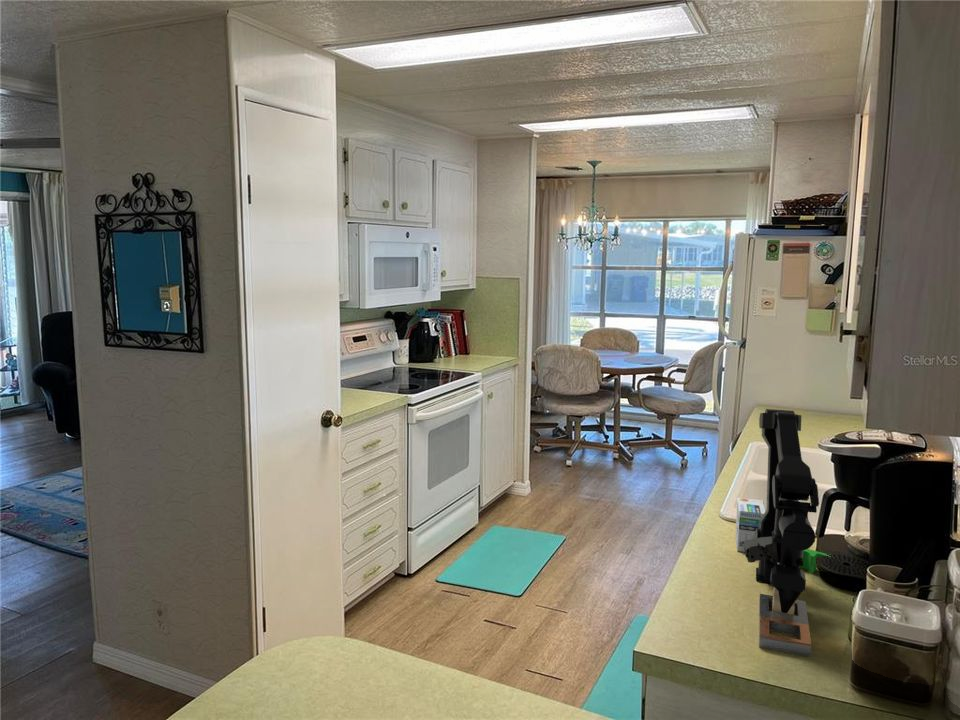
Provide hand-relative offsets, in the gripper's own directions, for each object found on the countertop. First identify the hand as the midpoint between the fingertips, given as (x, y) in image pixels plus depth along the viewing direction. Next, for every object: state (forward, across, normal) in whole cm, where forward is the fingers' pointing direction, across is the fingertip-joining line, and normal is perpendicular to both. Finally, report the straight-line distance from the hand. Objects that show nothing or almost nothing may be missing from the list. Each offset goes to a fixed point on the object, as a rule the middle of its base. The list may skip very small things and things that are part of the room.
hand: (783, 602), depth 150 cm
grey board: (+3, +5, 0) cm, 6 cm away
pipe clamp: (+4, -27, +5) cm, 27 cm away
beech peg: (+3, 0, 0) cm, 3 cm away
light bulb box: (+3, -36, -7) cm, 37 cm away
